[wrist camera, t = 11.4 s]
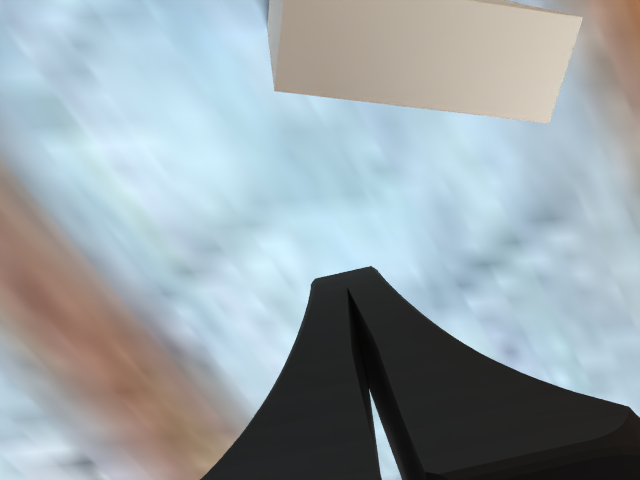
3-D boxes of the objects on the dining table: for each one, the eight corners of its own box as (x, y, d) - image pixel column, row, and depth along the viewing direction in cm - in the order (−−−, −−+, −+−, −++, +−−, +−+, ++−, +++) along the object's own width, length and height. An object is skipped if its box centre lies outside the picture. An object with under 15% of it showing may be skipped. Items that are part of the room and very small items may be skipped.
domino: (426, 49, 16) (549, 123, 9) (266, 27, 15) (274, 90, 9) (440, -15, 15) (583, 17, 8) (273, -39, 15) (286, -27, 8)
